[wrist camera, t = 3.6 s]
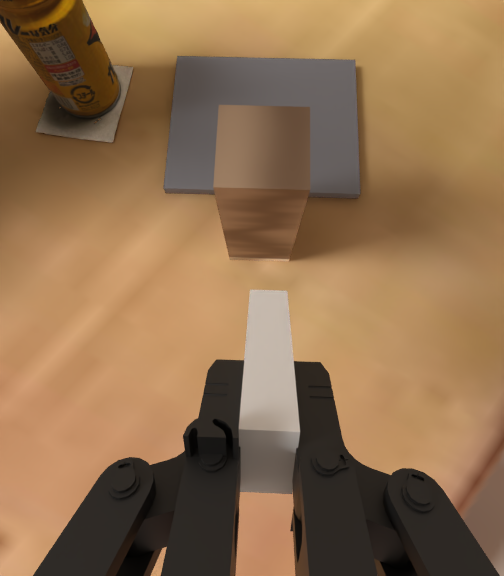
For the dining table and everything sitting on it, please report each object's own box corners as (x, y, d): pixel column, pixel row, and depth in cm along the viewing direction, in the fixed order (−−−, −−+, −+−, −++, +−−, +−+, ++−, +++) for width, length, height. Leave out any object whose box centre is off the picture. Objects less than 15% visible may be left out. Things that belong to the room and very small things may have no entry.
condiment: (133, 68, 35) (72, -86, 23) (113, 143, 33) (34, 16, 21) (62, 60, 35) (-35, -97, 23) (37, 134, 33) (-83, 3, 21)
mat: (165, 192, 31) (163, 188, 30) (179, 63, 35) (177, 56, 34) (357, 198, 31) (360, 193, 30) (352, 67, 34) (355, 59, 33)
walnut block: (229, 259, 30) (213, 187, 18) (232, 205, 31) (218, 104, 19) (288, 261, 30) (310, 189, 18) (289, 206, 31) (310, 106, 19)
